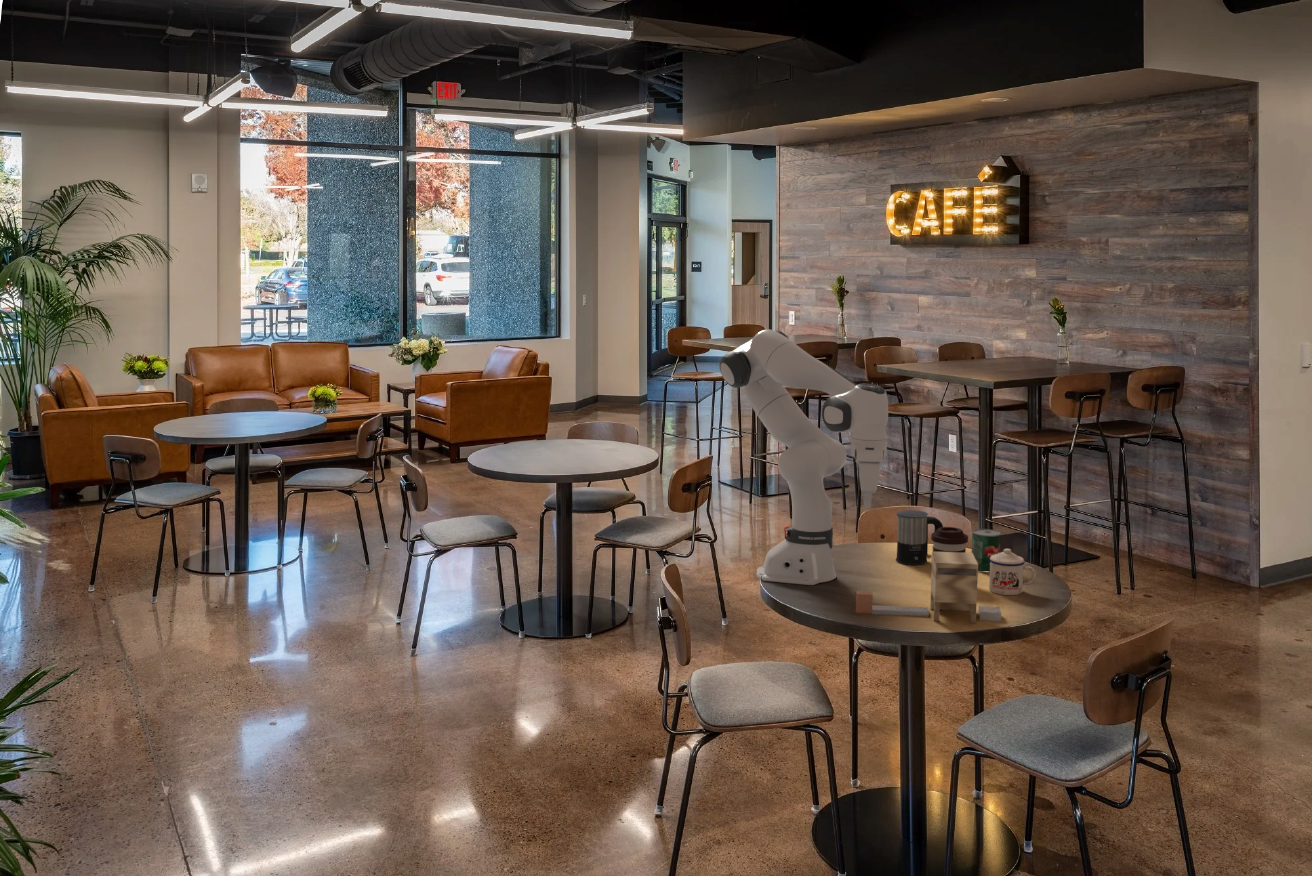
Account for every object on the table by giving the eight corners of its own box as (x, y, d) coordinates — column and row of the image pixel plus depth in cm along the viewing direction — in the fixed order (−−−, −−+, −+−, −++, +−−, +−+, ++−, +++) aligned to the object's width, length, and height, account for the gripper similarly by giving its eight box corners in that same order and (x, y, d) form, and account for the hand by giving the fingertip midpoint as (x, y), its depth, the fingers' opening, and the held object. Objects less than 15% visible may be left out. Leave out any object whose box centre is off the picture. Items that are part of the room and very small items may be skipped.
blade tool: (856, 613, 280) (856, 594, 279) (855, 609, 284) (856, 590, 283) (928, 616, 278) (929, 597, 277) (927, 612, 281) (928, 593, 280)
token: (979, 621, 275) (980, 611, 274) (978, 614, 280) (978, 605, 279) (1000, 622, 274) (1001, 613, 274) (998, 616, 279) (999, 607, 278)
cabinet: (934, 621, 273) (936, 563, 271) (930, 607, 284) (932, 551, 282) (975, 623, 272) (978, 564, 269) (970, 609, 283) (972, 552, 281)
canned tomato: (995, 574, 315) (997, 536, 314) (967, 570, 319) (969, 533, 317) (1001, 567, 322) (1003, 530, 320) (974, 564, 326) (976, 527, 324)
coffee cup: (967, 587, 302) (969, 534, 300) (930, 585, 304) (932, 532, 302) (964, 577, 312) (967, 526, 309) (928, 575, 314) (930, 524, 311)
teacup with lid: (987, 594, 296) (989, 552, 294) (988, 585, 305) (990, 544, 303) (1035, 598, 292) (1037, 555, 291) (1034, 588, 301) (1036, 547, 299)
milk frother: (907, 567, 323) (908, 517, 321) (876, 554, 337) (877, 506, 335) (946, 562, 328) (948, 513, 326) (915, 549, 343) (916, 502, 340)
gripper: (855, 442, 286) (853, 494, 288) (856, 455, 266) (854, 511, 268) (879, 442, 285) (877, 495, 287) (883, 456, 265) (881, 512, 267)
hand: (866, 503), depth 277 cm, fingers open, 8 cm apart
